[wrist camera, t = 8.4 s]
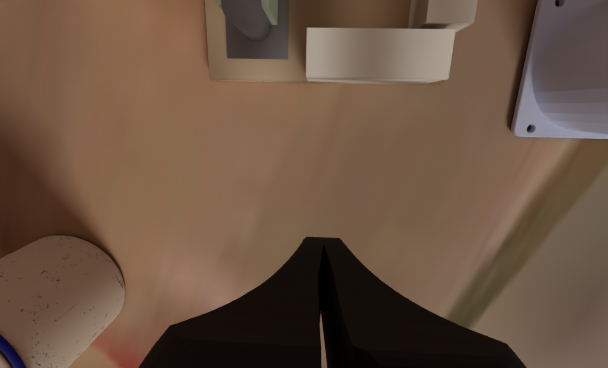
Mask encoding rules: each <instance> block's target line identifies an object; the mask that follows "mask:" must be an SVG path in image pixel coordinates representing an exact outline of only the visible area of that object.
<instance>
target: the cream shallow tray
mask: <svg viewBox="0 0 608 368" xmlns="http://www.w3.org/2000/svg"><path fill="white" fill-rule="evenodd" d="M477 2H478V0H278V18H277V25H272V29H271V32H270V34H269V35H268V36H267V37H266V38H265V39H264V40H262V41H252V40H250V39H248V38H247V37H246V36H245V35H244V34H243V33H242V32H241V31H240V30H239V29H238V28H237V27H235V26H234V25H233V24H232V23H231V22H230V21H229V20H228V19H227V18H226V16H225V15H224V13H223V10H222V9H221V8H220V7H219V6H218V5H217V0H205V12H206V28H207V45H208V61H209V77H210V80H214V81H235V82H288V83H340V84H393V85H440V84H443V83H444V80H446V79H448V78H449V71H450V65H451V58H452V51H453V44H454V37H455V32H457V31H459V30H461V29H463V28H465V27H466V26H468V25H470V24H472V23H474V20H475V14H476V8H477Z"/></svg>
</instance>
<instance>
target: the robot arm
mask: <svg viewBox="0 0 608 368" xmlns="http://www.w3.org/2000/svg"><path fill="white" fill-rule="evenodd" d="M555 1H556V0H538V3H537V6H536V11H535V16H534V20H533V25H532V30H531V35H530V40H529V44H528V49H527V54H526V59H525V64H524V68H523V73H522V78H521V83H520V87H519V92H518V97H517V102H516V107H515V111H514V116H513V121H512V126H511V132H512V134H513V135H515V136H521V137H559V138H598V139H608V0H558V1H559V6H558V7H556V5H555ZM529 125H530V126H531V129H530V131H529V132H527V127H528V126H529ZM320 314H321V315H322V324H323V333H324V342H325V351H326V360H327V368H526V366H525V365H524V364H523V363H522V362H521V360H520V359H519V358H518V357H517V355H516V354H515V353H514V352H513V350H512V349H511V348H510V347H509V346H508V345H507V344H506V343H503V342H501V341H498V340H496V339H493V338H490V337H488V336H485V335H483V334H480V333H477V332H475V331H472V330H470V329H467V328H464V327H462V326H460V325H457V324H455V323H453V322H451V321H449V320H447V319H444V318H442V317H440V316H438V315H436V314H434V313H432V312H430V311H428V310H426V309H424V308H423V307H421V306H419V305H417V304H416V303H414V302H412V301H411V300H409V299H407V298H405V297H404V296H402V295H401V294H399V293H398V292H396V291H395V290H393V289H392V288H391V287H389V286H388V285H386V284H385V283H384V282H382V281H381V280H380V279H379V278H377V277H376V276H375V275H374V274H373V273H372V272H371V271H369V270H368V269H367V268H366V267H365V266H364V265H363V264H362V263H361V262H360V261H359V260H358V259H357V258H356V257H355V256H354V255H353V253H352V252H351V251H350V250H349V249H348V248H347V246H346V245H345V244H344V243H343V242H342V240H341V239H340V238H324V237H306V238H305V239H304V240H303V242H302V243H301V245H300V246H299V248H298V249H297V250H296V251H295V253H294V254H293V255H292V256H291V257H290V259H289V260H288V261H287V262H286V263H285V264H284V265H283V266H282V267H281V268H280V269H279V270H278V271H277V272H276V273H275V274H274V275H272V276H271V277H270V278H269V279H268V280H266V281H265V282H264V283H262V284H261V285H260V286H258V287H256V288H255V289H253V290H251V291H250V292H248V293H246V294H245V295H243V296H242V297H240V298H238V299H236V300H234V301H232V302H230V303H228V304H226V305H224V306H222V307H219V308H217V309H215V310H213V311H210V312H208V313H205V314H202V315H200V316H197V317H194V318H191V319H188V320H185V321H183V322H180V323H177V324H174V325H170V326H169V327H168V329H167V330H166V331H165V332H164V334H163V335H162V336H161V337H160V339H159V340H158V341H157V342H156V343H155V345H154V346H153V348H152V349H151V350H150V352H149V353H148V354H147V356H146V357H145V359H144V360H143V362H142V363H141V365H140V366H139V368H321V340H320V324H319V323H320Z"/></svg>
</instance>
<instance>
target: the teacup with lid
mask: <svg viewBox="0 0 608 368" xmlns="http://www.w3.org/2000/svg"><path fill="white" fill-rule="evenodd" d="M124 299H125V286H124V281H123V278H122V275H121V273H120V271H119V269H118V267H117V266H116V264H115V263H114V262H113V260H112V259H111V258H110V257H109V256H108V255H107V254H106V253H105V252H104V251H102V250H101V249H100V248H98V247H97V246H95V245H93V244H92V243H90V242H88V241H85V240H83V239H80V238H76V237H72V236H65V235H56V236H48V237H44V238H41V239H39V240H36V241H34V242H32V243H30V244H28V245H26V246H24V247H22V248H20V249H17V250H15V251H13V252H11V253H9V254H7V255H5V256H3V257H1V258H0V368H68V367H69V366H70V365H71V363H73V362H74V361H75V360H76V359H77V357H78V356H79V355H80V354H81V353H82V352H83V351H84V350H85V349H86V348H87V347H88V346H89V345H90V344H91V343H92V342H93V341H94V340H95V339H96V338H97V337H98V336H99V335H100V333H101V332H102V331H103V330H104V329H105V328H106V327H107V326H108V325H109V324H110V323H111V322H112V321H113V320H114V319H115V318H116V317H117V315H118V314H119V312H120V311H121V309H122V306H123V303H124Z"/></svg>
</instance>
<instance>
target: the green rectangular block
mask: <svg viewBox="0 0 608 368" xmlns="http://www.w3.org/2000/svg"><path fill="white" fill-rule="evenodd" d="M217 5H218V6H219V7H220V8H221V9H222V10H223V13H224V15H225V16H226V18H227V19H228V20H229V21H230V22H231V23H232V24H233V25H234V26H235V27H237V28H238V29H239V30H240V31H241V32H242V33H243V34H244V35H245V36H246V37H247V38H248V39H250V40H252V41H262V40H264V39H265V38H266V37H267V36H268V35H269V34H270V32H271V29H272V25H277V18H278V0H217Z"/></svg>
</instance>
